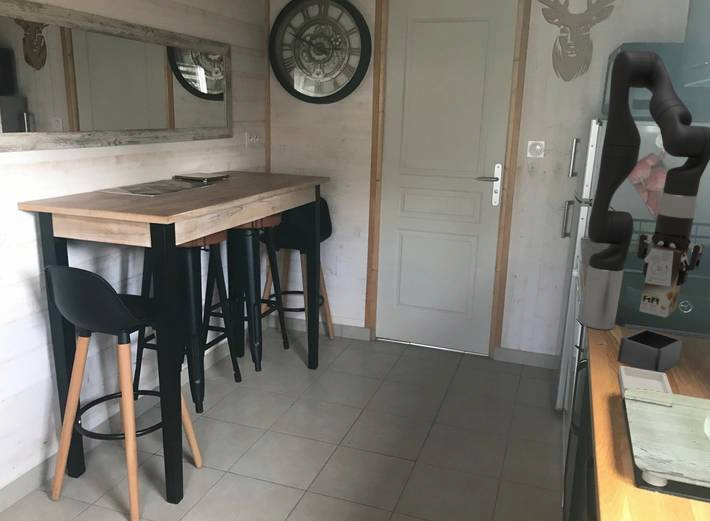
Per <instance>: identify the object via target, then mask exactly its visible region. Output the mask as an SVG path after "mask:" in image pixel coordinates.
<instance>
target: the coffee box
mask: <svg viewBox="0 0 710 521" xmlns="http://www.w3.org/2000/svg"><path fill="white" fill-rule="evenodd" d="M688 250H689V248H688V249H687V250H685V251H683V250H679V249H678V250H676V249H671V248H670V247H666V246H662V247H661V246H657V245H654V244H653V245H652V246H651V247H650V252H649V253H650V257H649V262H648V268H647V273H646V278H645V277H644V278H645V279H644V284H643V289H642V295H641V299H640V306H639V312H641V313H645V314H649V315H653V316H658V317H662V318H667V317H669V316H670V315H671V314H672V313H673V312H674V311H676V310H677V304H678V301H679V300H678V299H679V296H680V290H681V286H677V285H676V283H677V279H678V273H679V271H680V263H681V258H682V257H684V253H686V256H687V257H688Z"/></svg>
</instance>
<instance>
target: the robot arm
mask: <svg viewBox="0 0 710 521" xmlns="http://www.w3.org/2000/svg"><path fill="white" fill-rule="evenodd" d="M611 68H612V69H611V72H610V85H609V86H610V88H609V100H608V101H609V102H608V112H607V117H606V118H607V120H606V126H605V133H604V138H603V143H602V149H601V153H600V154H601V155H600V164H599V171H598V178H597V183H596V184H597V185H596V188H595V189H596V191H595V194H594V199H593V202H592V203H593V204H592V208H591V212H590V215H589V216H590V217H589V220H588V226H587V235H588V239H589V241H590V242H591V243H594V244H609V245H610V246H609V247H607V248H606V249H604V250H602V251H599V252H595V253H593V254H591V255H590V257H589V261H588V269H587V275H586V283H585V288H584V289H582V290H581V294H580V300H579V306H578V315H577V321H576V322H578V323H581V324H582V325H584V326H585V327H589V328H591V329H596V330H612V329H614V328H615V324H616V319H617V311H618V306H619V300H620V299H619V298H620V295H621V294H620V293H621V288H622V282H623V281H622V280H623V276H624V268H625V264H626V262H627V259H628V256H629V255H628V254H629V250H630V245H631V241H632V236H633V233H634V232H633V231H634V219H633V215H632V214H631V212H628V211H623V210H609V207H610V205H611V202H612V199H613V197H614V195H615V193H616V192H617V191H618V189H619V188H620V187H621V185H622V184H623V183H624V182H625V181H626V180H627V178H628V177H629V176H630V175H631V174H632V172H633V171H634V170H635V168H636V167H637V164H638V160H639V156H640V149H641V143H642V140H641V134H640V131H639V129H638V127H637V123H636V122H635V118H633V115H632V113H631V109H630V103H629V102H630V101H629V100H630V89H631V88H633V89H635V88H636V89H637V88H638V89H644V88H645V89H647V90H648V91H650V93H651V94H652V95H651V97H650V101H649V104H648V105H649V106H648V107H649V108H648V109H649V113H650V116H651V118H652V119H653V120H654V122H655V124H656V125H657V127H658V128H659V131H660V137H661V142H662V146H663V150H664V151H665V153H667V154H668V155H670V156H672V157H674V158H675V157H676V158H687V159H686V160H685V162H684V163H683V164H682V165H681V166H677V167H676V166H675V167H672V168H670V169H668V170H667V172H666V175H665V180H664V184H663V185H664V186H663V192H662V195H661V198H660V201H659V206H658V209H657V211H658V212H657V217H656V223H655V228H654V233H653V234H649V233H643V234H642V233H641V234H640V236H639V241H638V248H637V255H636V256H637V258H638V259H641V260H642V261H643V262H644V266H643V270H642V274H643V276H644V278H646V273H647V268H648V262H649V257H650V252H648V248H649V244H651V242H652V244H653V246H654V245H657V246H661V247H662V246H666V247H670V248H671V249H676V250H678V249H679V250H683V251H685V250H687V249H688V250H690V253H691V256H690V261H688V255H687V256H686V253H684V257H682V258H681V263H680V271H679V273H678V279H677V283H676V285H677V286H680V287H682V286H684V285H685V284H686V283H687V281H688V274H689V271H694V270H697V269H698V268H699V266H700V263H701V261H702V260H701V258H702V255H703V251H704V248H705V247H704V245H703V243H702V244H701V243H698V244H696V243H692V242H691V238H690V237H691V234H692V230H693V229H692V228H693V224H694V219H695V214H696V209H697V200H698V193H699V189H700V188H699V187H700V183H701V179H702V176H703V174H704V172H705V171H706V168H707V166H708V164H709V162H710V127H709V126H705V125H704V126H703V125H692V122H693V115H692V114H691V112H690V110H689V109H688V107H687V106H686V105H685V104H684V102H683V101H682V100H681V98H680V97H679V95H678V94H677V93H676V90H675V88H674V86H673V84H672V82H671V81H672V80H671V79H670V76H669V73H668V71H667V68H666V66H665V63H664V61H663V59H662V58H661V57H660V55H659V54H658V53H657V52H654V51H652V50H651V51H649V50H635V49H632V50H630V49H623V50H620V51H619V52H618V53H617V54H616V55H615V58H614V60H613V64H612V67H611Z"/></svg>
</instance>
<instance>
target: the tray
mask: <svg viewBox="0 0 710 521" xmlns="http://www.w3.org/2000/svg"><path fill="white" fill-rule="evenodd" d="M618 380H619V386H620V387H619V388H620V392H621V397H622V399H625V398H624V393H625V391H626V390H628V389H636V388H640V389H641V390H642V389H647V390H653V391H660V392H665V393H668V394H670V395H673V396H674V394H673V390H672V388H671V386H670V382H669V379H668V377H667V374H666V373H665V372H661V373H660V372H654V371H649V370H643V369H638V368H635V367H632V366H631V367H630V366H624V365H619V370H618Z"/></svg>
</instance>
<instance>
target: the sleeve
mask: <svg viewBox="0 0 710 521" xmlns="http://www.w3.org/2000/svg"><path fill="white" fill-rule="evenodd" d="M684 342H685V340H684V339H681V338H678V337H673V336H670V335H667V334H664V333H661V332H657V331H655V330H651V329H648V328H643V329H640V330H638V331H636V332H634V333H631V334H628V335H627V336H623V337H622V338H620V342H619V343H620V344H619V349H618V354H617V360H616V361H617V362H618V363H622V364H624V365H628V366H629V367H630V366H631V368H637V369H643V370H649V371H654V372H660V373H664V372H665V371H667V370H669V369H671V368H672V367H675V366H677V365H679V364H680V363H681V362H680V361H681V357H682V352H683V348H684Z"/></svg>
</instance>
